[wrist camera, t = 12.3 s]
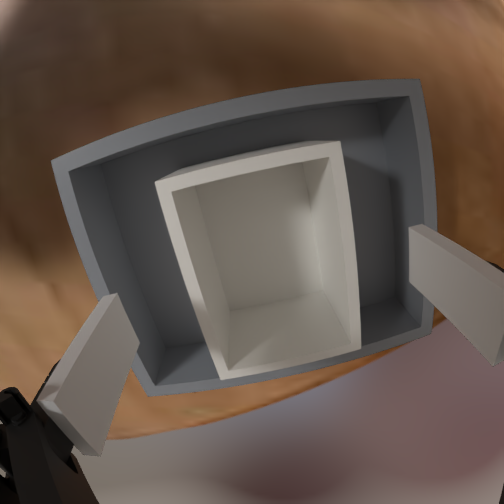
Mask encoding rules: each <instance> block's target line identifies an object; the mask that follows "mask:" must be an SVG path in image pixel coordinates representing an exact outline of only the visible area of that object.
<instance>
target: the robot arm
mask: <svg viewBox="0 0 504 504" xmlns="http://www.w3.org/2000/svg"><path fill="white" fill-rule="evenodd" d="M409 282H410V283H411V284H412V285H413V286H414V287H415V288H416V289H417V290H418V291H420V292H421V293H422V294H423V295H424V296H425V297H426V298H427V299H428V300H429V301H430V302H431V303H432V304H433V305H434V306H435V307H436V308H437V309H438V310H439V311H440V312H441V313H442V314H443V315H444V316H445V317H446V318H447V319H448V320H449V321H450V322H451V323H452V324H453V325H454V326H455V327H456V328H457V329H458V330H459V331H460V332H461V333H462V334H463V335H464V336H465V337H466V338H467V339H468V340H469V341H470V343H472V345H474V347H475V348H476V349H477V350H478V351H479V352H480V353H481V354H482V355H483V357H484V358H485V359H486V360H487V361H488V362H489V363H490V364H491V365H492V366H493V367H494V366H495V365H497V364H499V363H500V362H502V361H504V269H502V268H501V267H499V266H498V265H496V264H494V263H491V262H488V261H485V260H483V259H481V258H480V257H478V256H477V255H475V254H473V253H472V252H470V251H468V250H467V249H465V248H463V247H462V246H460V245H458V244H457V243H455V242H453V241H452V240H450V239H448V238H446V237H445V236H443V235H441V234H439V233H438V232H436V231H434V230H432V229H431V228H429V227H427V226H425V225H423V224H419V225H415V226H411V227H409ZM139 344H140V342H139V340H138V338H137V336H136V333H135V331H134V329H133V327H132V325H131V323H130V321H129V318H128V316H127V314H126V312H125V310H124V307H123V305H122V303H121V300H120V298H119V296H118V293H115V294H111V295H106V296H103V297H102V299H101V300H100V301H99V303H98V304H97V306H96V307H95V309H94V310H93V311H92V313H91V314H90V316H89V317H88V319H87V320H86V322H85V323H84V325H83V326H82V328H81V329H80V331H79V332H78V334H77V335H76V337H75V338H74V340H73V341H72V343H71V344H70V346H69V347H68V349H67V350H66V352H65V354H64V355H63V357H62V358H61V359H60V360H59V361H58V362H57V363H56V364H55V365H54V366H53V368H52V370H51V371H50V373H49V376H47V378H46V379H45V381H44V382H45V383H43V384H42V386H41V388H40V389H39V391H38V393H37V394H36V396H35V398H34V400H33V401H32V403H31V405H29V403H28V402H27V401H26V400H25V398H24V397H23V396H22V394H21V393H20V392H19V390H18V389H17V388H15V387H9V388H6V389H4V390H2V391H1V392H0V420H1V422H2V423H3V424H0V468H1V469H2V470H4V471H5V472H6V477H5V478H4V477H2V475H0V504H99V502H98V501H97V499H96V497H95V495H94V493H93V491H92V490H91V488H90V486H89V484H88V482H87V480H86V478H85V476H84V474H83V471H82V469H81V468H80V465H79V463H78V461H77V458H76V457H75V456H74V455H73V454H72V453H71V451H72V448H73V446H75V447H76V448H77V449H78V450H79V451H80V452H81V453H82V454H83V455H90V456H101V454H102V450H103V447H104V444H105V441H106V437H107V434H108V431H109V428H110V425H111V422H112V419H113V416H114V413H115V410H116V407H117V404H118V401H119V398H120V395H121V393H122V390H123V387H124V384H125V381H126V379H127V376H128V373H129V370H130V368H131V365H132V362H133V360H134V357H135V354H136V352H137V349H138V346H139ZM499 504H504V485H503V490H502V494H501V498H500V501H499Z"/></svg>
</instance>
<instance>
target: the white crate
mask: <svg viewBox="0 0 504 504" xmlns="http://www.w3.org/2000/svg"><path fill="white" fill-rule="evenodd" d="M155 186H156V190H157V193H158V197H159V200H160V204H161V207H162V211H163V214H164V218H165V221H166V224H167V228H168V231H169V234H170V238H171V241H172V244H173V247H174V251H175V254H176V257H177V260H178V263H179V266H180V269H181V272H182V276H183V279H184V282H185V285H186V288H187V290H188V293H189V296H190V299H191V302H192V305H193V308H194V311H195V313H196V316H197V319H198V322H199V325H200V327H201V330H202V333H203V336H204V338H205V341H206V344H207V346H208V349H209V352H210V354H211V357H212V359H213V362H214V364H215V367H216V370H217V372H218V375H219V377H220V380H225V379H231V378H237V377H243V376H248V375H254V374H259V373H264V372H269V371H274V370H279V369H284V368H288V367H293V366H297V365H302V364H306V363H310V362H314V361H318V360H322V359H326V358H330V357H334V356H338V355H341V354H345V353H349V352H352V351H356V350H359V349H361V323H360V302H359V286H358V272H357V260H356V250H355V240H354V231H353V222H352V214H351V206H350V199H349V192H348V185H347V178H346V172H345V166H344V160H343V154H342V148H341V143H340V141H301V142H295V143H289V144H284V145H279V146H274V147H269V148H264V149H259V150H254V151H250V152H245V153H241V154H236V155H232V156H228V157H223V158H219V159H215V160H211V161H207V162H203V163H199V164H195V165H191V166H188V167H184V168H181V169H179V170H177V171H175V172H173V173H171V174H169V175H167V176H165V177H163V178H161V179H159V180H157V181H155Z"/></svg>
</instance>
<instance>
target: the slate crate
mask: <svg viewBox="0 0 504 504" xmlns="http://www.w3.org/2000/svg"><path fill="white" fill-rule="evenodd" d="M301 141H340V143H341V148H342V154H343V160H344V166H345V172H346V178H347V185H348V192H349V199H350V206H351V214H352V222H353V231H354V240H355V250H356V260H357V272H358V286H359V302H360V323H361V349H359V350H356V351H352V352H349V353H345V354H341V355H338V356H334V357H330V358H326V359H322V360H318V361H314V362H310V363H306V364H302V365H297V366H293V367H288V368H284V369H279V370H274V371H269V372H264V373H259V374H254V375H248V376H243V377H237V378H231V379H225V380H220V377H219V375H218V372H217V370H216V367H215V364H214V362H213V359H212V357H211V354H210V352H209V349H208V346H207V344H206V341H205V338H204V336H203V333H202V330H201V327H200V325H199V322H198V319H197V316H196V313H195V311H194V308H193V305H192V302H191V299H190V296H189V293H188V290H187V288H186V285H185V282H184V279H183V276H182V272H181V269H180V266H179V263H178V260H177V257H176V254H175V251H174V247H173V244H172V241H171V238H170V234H169V231H168V228H167V224H166V221H165V218H164V214H163V211H162V207H161V204H160V200H159V197H158V193H157V190H156V186H155V181H157V180H159V179H161V178H163V177H165V176H167V175H169V174H171V173H173V172H175V171H177V170H179V169H181V168H184V167H188V166H191V165H195V164H199V163H203V162H207V161H211V160H215V159H219V158H223V157H228V156H232V155H236V154H241V153H245V152H250V151H254V150H259V149H264V148H269V147H274V146H279V145H284V144H289V143H295V142H301ZM51 163H52V167H53V171H54V175H55V179H56V183H57V187H58V190H59V194H60V197H61V201H62V204H63V207H64V211H65V214H66V217H67V220H68V223H69V226H70V229H71V232H72V235H73V238H74V241H75V244H76V246H77V249H78V252H79V255H80V257H81V260H82V263H83V265H84V268H85V270H86V273H87V275H88V278H89V280H90V283H91V285H92V287H93V290H94V292H95V294H96V297H97V299H98V301H100V300H101V299H102V297H103V296H106V295H111V294H115V293H118V296H119V298H120V300H121V303H122V305H123V307H124V310H125V312H126V314H127V316H128V318H129V321H130V323H131V325H132V327H133V329H134V331H135V333H136V336H137V338H138V340H139V342H140V344H139V346H138V349H137V352H136V354H135V357H134V360H133V362H132V365H131V368H132V370H133V371H134V373H135V375H136V377H137V379H138V380H139V382H140V384H141V385H142V387H143V389H144V391H145V392H146V394H147V396H148V397H149V396H161V395H172V394H181V393H190V392H198V391H206V390H213V389H220V388H227V387H233V386H239V385H245V384H251V383H256V382H262V381H267V380H272V379H277V378H281V377H286V376H291V375H295V374H300V373H304V372H308V371H312V370H317V369H321V368H325V367H328V366H332V365H336V364H340V363H343V362H347V361H351V360H354V359H357V358H361V357H364V356H368V355H371V354H374V353H377V352H380V351H384V350H387V349H390V348H393V347H396V346H399V345H402V344H405V343H407V342H410V341H413V340H416V339H419V338H421V337H424V336H427V335H429V334H431V332H432V324H433V315H434V305H433V304H432V303H431V302H430V301H429V300H428V299H427V298H426V297H425V296H424V295H423V294H422V293H421V292H420V291H418V290H417V289H416V288H415V287H414V286H413V285H412V284H411V283H410V282H409V227H411V226H415V225H419V224H423V225H425V226H427V227H429V228H431V229H432V230H434V231H436V232H437V202H436V185H435V173H434V162H433V153H432V145H431V138H430V131H429V124H428V118H427V112H426V107H425V101H424V96H423V91H422V87H421V82H420V79H380V80H361V81H347V82H336V83H326V84H317V85H309V86H302V87H295V88H288V89H282V90H276V91H270V92H264V93H259V94H254V95H249V96H244V97H239V98H234V99H230V100H225V101H221V102H217V103H213V104H209V105H205V106H201V107H197V108H193V109H189V110H186V111H182V112H179V113H175V114H172V115H169V116H165V117H162V118H159V119H156V120H152V121H149V122H146V123H143V124H140V125H137V126H134V127H132V128H129V129H126V130H123V131H120V132H118V133H115V134H112V135H110V136H107V137H105V138H102V139H99V140H97V141H94V142H92V143H90V144H87V145H85V146H82V147H80V148H78V149H75V150H73V151H71V152H69V153H66V154H64V155H62V156H60V157H58V158H55V159H53V160H51Z"/></svg>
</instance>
